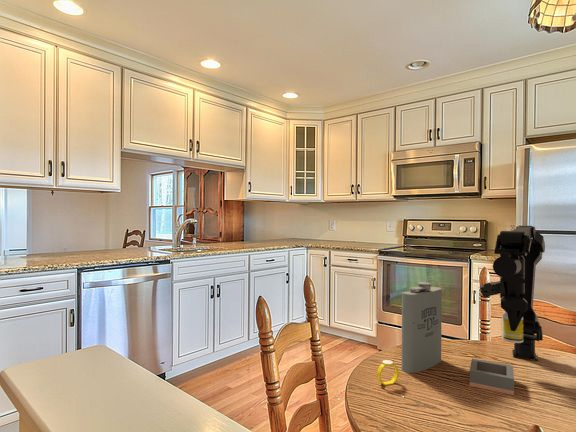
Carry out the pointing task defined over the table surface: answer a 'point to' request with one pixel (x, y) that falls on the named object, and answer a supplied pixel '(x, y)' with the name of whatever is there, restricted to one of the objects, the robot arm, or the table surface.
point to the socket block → (492, 376)
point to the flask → (421, 327)
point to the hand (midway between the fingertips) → (512, 328)
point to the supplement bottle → (511, 335)
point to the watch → (384, 364)
